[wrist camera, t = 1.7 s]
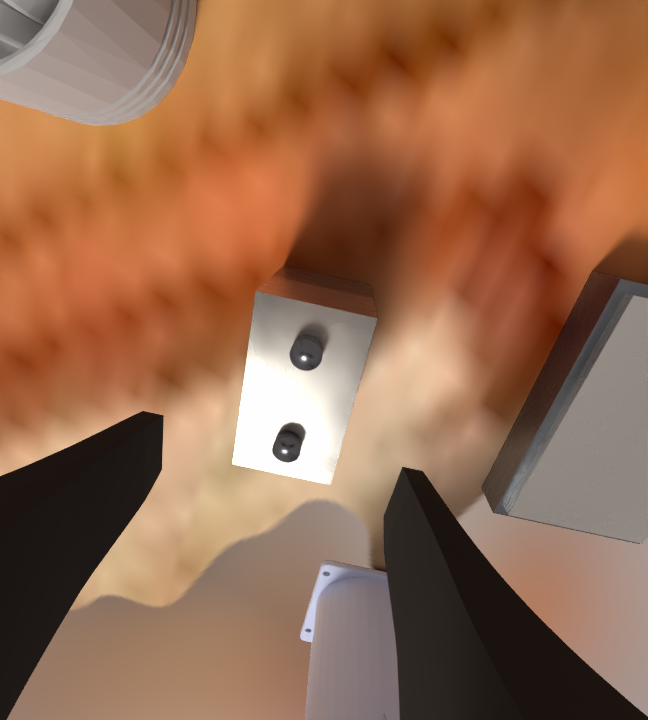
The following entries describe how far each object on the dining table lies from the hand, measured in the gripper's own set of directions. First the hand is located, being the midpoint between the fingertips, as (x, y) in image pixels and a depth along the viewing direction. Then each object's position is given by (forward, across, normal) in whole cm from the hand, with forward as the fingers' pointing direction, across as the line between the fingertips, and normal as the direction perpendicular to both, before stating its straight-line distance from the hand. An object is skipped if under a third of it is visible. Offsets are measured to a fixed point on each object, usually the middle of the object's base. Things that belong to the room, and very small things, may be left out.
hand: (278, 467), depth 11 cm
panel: (+10, -17, 0) cm, 20 cm away
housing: (+10, 0, 0) cm, 10 cm away
